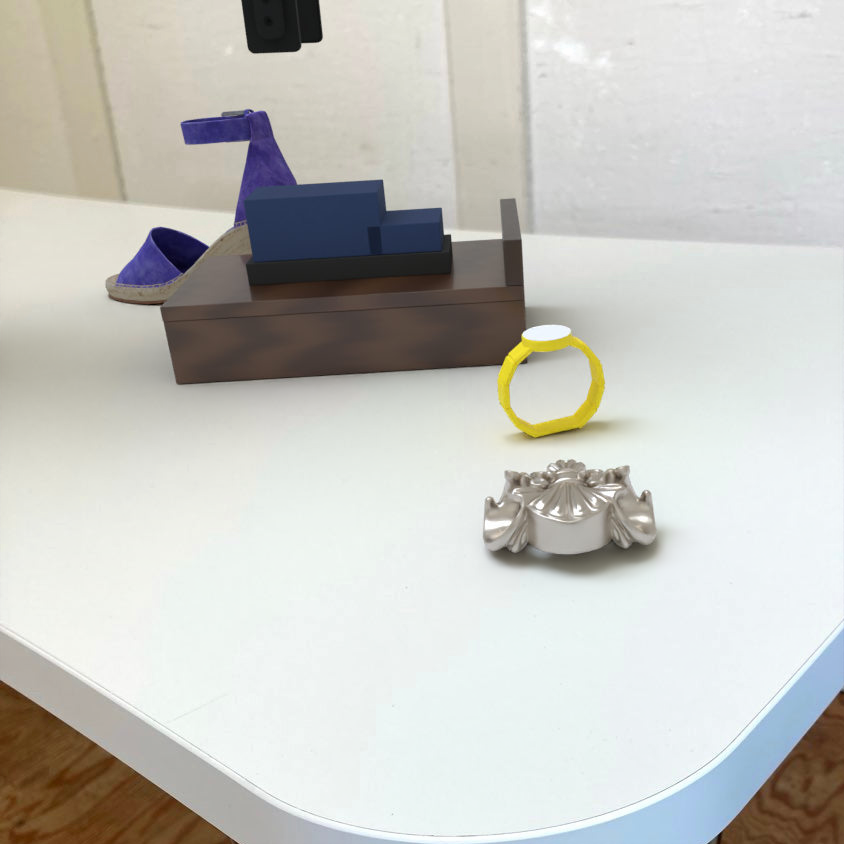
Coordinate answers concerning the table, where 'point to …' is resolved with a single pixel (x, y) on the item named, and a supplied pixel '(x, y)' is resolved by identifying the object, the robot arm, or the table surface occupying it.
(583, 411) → the watch
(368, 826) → the table surface
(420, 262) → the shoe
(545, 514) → the ornament
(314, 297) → the wooden riser with lip
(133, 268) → the sandal
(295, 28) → the robot arm
